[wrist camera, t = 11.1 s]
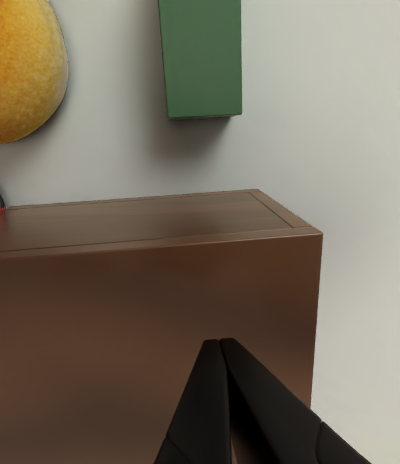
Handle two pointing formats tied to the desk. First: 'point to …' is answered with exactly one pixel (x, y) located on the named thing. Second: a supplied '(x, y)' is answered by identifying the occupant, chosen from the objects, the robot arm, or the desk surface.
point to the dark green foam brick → (201, 57)
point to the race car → (2, 204)
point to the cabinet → (142, 314)
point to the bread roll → (29, 66)
